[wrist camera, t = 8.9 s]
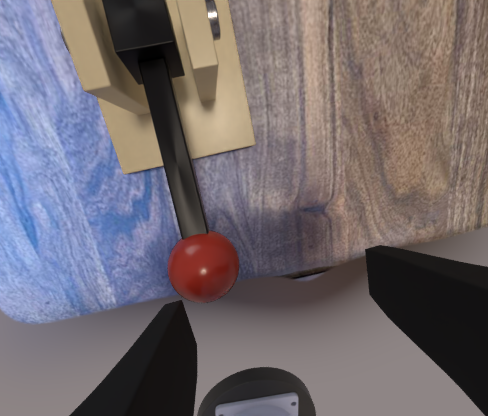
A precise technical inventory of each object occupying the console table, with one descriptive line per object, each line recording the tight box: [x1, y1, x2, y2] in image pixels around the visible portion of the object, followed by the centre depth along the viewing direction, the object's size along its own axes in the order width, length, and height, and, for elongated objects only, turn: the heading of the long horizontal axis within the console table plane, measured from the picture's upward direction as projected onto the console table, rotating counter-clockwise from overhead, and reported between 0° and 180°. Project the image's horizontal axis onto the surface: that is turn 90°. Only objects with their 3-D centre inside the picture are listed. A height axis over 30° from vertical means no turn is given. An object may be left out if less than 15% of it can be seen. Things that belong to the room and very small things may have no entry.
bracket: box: [51, 0, 256, 174], centre depth 12 cm, size 11×9×8 cm
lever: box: [102, 0, 239, 303], centre depth 10 cm, size 13×3×3 cm, turn 12°
